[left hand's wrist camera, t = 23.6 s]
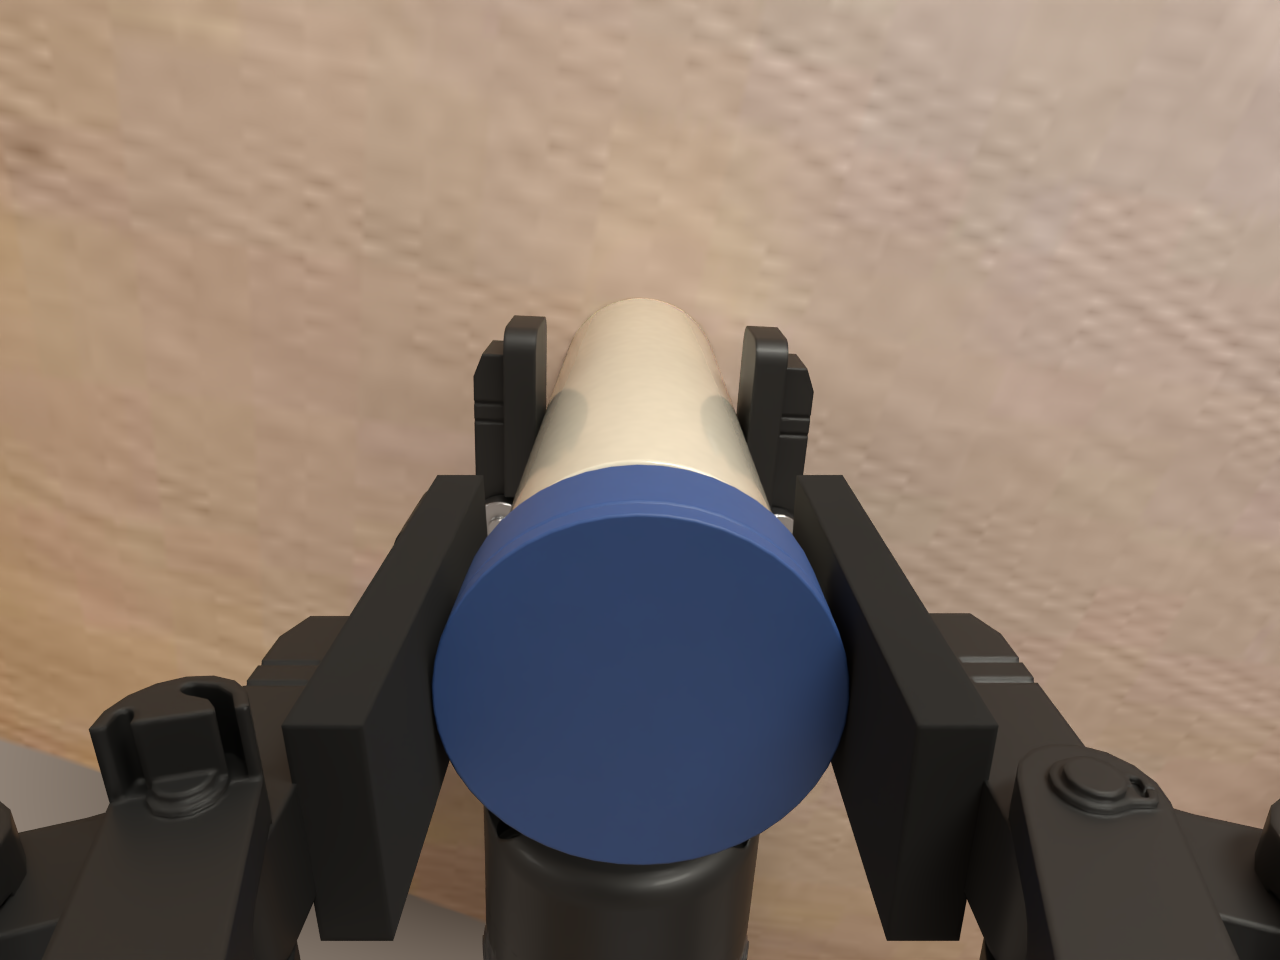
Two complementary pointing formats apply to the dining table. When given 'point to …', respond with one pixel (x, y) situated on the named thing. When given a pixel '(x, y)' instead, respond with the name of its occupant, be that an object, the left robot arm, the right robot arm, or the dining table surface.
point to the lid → (640, 668)
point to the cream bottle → (640, 403)
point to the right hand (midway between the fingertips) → (647, 331)
